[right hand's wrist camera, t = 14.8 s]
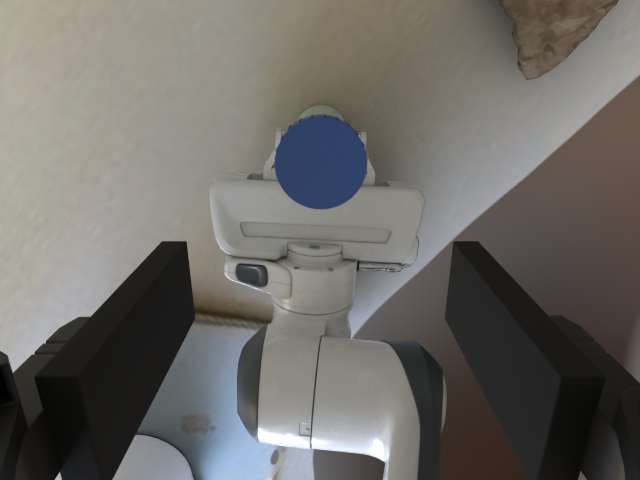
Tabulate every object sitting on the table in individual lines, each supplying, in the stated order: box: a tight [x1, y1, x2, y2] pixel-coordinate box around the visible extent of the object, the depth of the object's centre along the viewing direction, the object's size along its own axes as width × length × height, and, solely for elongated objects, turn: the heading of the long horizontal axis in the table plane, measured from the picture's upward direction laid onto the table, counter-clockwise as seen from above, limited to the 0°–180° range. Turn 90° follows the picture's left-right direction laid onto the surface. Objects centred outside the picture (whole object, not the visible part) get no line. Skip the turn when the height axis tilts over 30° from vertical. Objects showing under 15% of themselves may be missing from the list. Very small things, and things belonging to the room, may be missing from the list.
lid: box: [274, 114, 368, 210], centre depth 31 cm, size 6×6×2 cm
